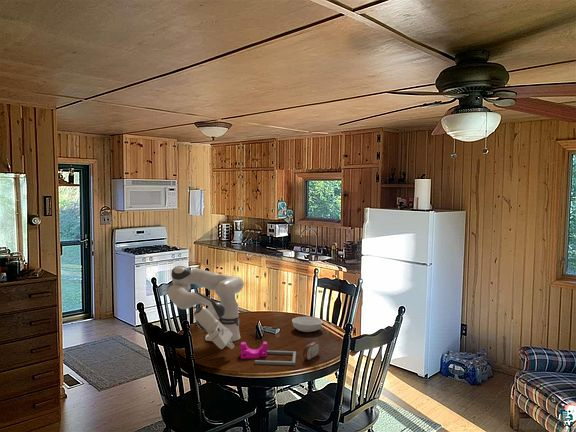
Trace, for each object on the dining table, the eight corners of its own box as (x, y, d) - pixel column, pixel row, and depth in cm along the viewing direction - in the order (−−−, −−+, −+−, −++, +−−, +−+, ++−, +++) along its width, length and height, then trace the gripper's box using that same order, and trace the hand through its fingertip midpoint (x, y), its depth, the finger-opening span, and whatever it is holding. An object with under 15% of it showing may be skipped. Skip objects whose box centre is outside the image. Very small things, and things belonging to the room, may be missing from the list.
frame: (254, 363, 240) (254, 361, 240) (258, 352, 257) (258, 350, 257) (294, 365, 239) (294, 362, 239) (296, 353, 256) (296, 351, 256)
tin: (315, 353, 258) (316, 339, 257) (320, 354, 256) (320, 340, 256) (302, 361, 245) (302, 346, 245) (306, 362, 244) (307, 347, 243)
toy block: (240, 358, 248) (240, 345, 247) (240, 354, 254) (241, 342, 253) (267, 358, 249) (267, 345, 249) (266, 354, 255) (266, 341, 255)
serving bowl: (320, 336, 289) (320, 326, 288) (289, 333, 293) (289, 323, 292) (323, 326, 309) (324, 317, 309) (294, 324, 313) (295, 315, 313)
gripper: (217, 328, 259) (233, 345, 259) (208, 339, 239) (225, 358, 238) (224, 321, 259) (240, 338, 258) (216, 332, 238) (233, 350, 238)
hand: (233, 347), depth 248 cm, fingers closed
